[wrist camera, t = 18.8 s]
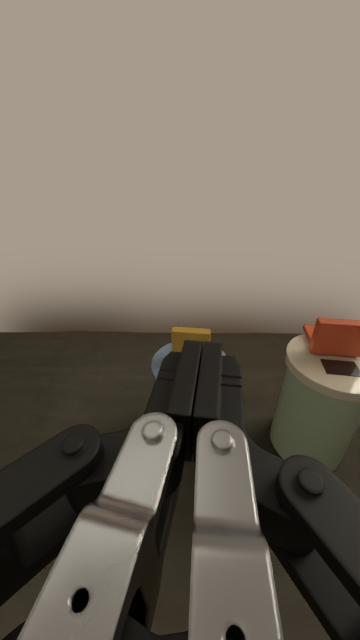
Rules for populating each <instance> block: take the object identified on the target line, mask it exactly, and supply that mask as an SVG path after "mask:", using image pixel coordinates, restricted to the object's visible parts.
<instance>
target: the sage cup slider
mask: <svg viewBox="0 0 360 640" xmlns="http://www.w3.org/2000/svg"><path fill="white" fill-rule="evenodd" d="M303 329H304V332H305V334H306V336H307V338H308V341H309V343H310V344H309V350H310V352H311V353H314V354H327V355H339V356H351V357H360V320H344V319H327V318H317V321H316V324H315V325H305V324H304V326H303Z"/></svg>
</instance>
